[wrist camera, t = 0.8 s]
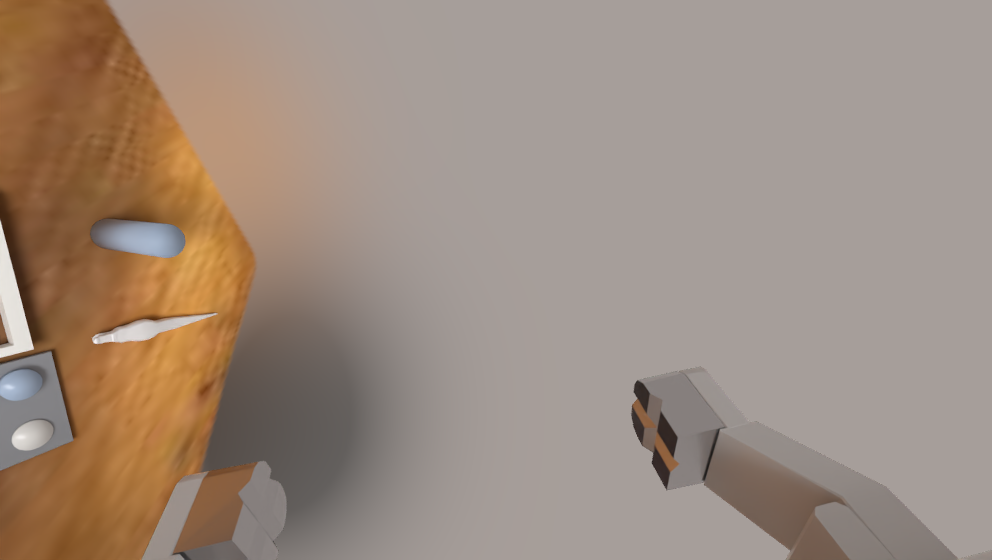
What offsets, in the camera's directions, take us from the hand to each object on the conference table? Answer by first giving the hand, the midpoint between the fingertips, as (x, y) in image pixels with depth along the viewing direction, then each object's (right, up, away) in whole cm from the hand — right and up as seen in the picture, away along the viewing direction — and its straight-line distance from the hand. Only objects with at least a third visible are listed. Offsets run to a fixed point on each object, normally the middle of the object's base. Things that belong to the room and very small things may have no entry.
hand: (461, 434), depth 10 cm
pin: (-45, +9, +42) cm, 62 cm away
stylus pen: (-44, -2, +48) cm, 65 cm away
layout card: (-50, -10, +37) cm, 63 cm away
